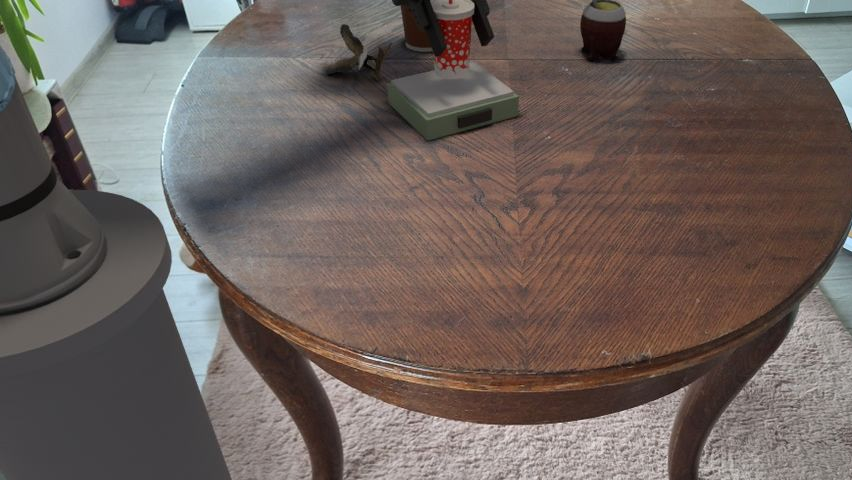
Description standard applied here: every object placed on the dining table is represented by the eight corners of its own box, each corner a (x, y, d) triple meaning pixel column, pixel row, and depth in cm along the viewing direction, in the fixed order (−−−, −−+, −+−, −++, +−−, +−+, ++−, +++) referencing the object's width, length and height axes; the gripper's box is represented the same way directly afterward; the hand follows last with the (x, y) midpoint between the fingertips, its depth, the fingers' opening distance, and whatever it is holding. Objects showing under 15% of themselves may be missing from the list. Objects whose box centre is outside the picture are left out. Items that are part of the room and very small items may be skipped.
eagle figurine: (397, 58, 112) (345, 37, 114) (388, 30, 105) (333, 9, 107) (374, 99, 111) (322, 78, 112) (364, 74, 104) (308, 52, 105)
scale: (429, 142, 96) (428, 117, 93) (388, 103, 104) (386, 79, 101) (520, 117, 101) (521, 93, 99) (474, 82, 109) (474, 59, 107)
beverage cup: (483, 74, 99) (484, -34, 90) (444, 85, 96) (441, -25, 87) (458, 58, 102) (457, -48, 93) (420, 68, 100) (415, -40, 90)
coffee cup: (402, 31, 123) (397, -44, 116) (456, 34, 123) (455, -41, 115) (392, 53, 116) (386, -25, 109) (449, 56, 116) (447, -22, 108)
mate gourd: (628, 53, 119) (642, -45, 109) (606, 70, 114) (619, -31, 104) (587, 41, 122) (597, -54, 112) (564, 57, 117) (573, -41, 107)
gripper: (457, -114, 101) (516, 45, 101) (324, -98, 93) (388, 74, 93) (476, -151, 94) (540, 19, 94) (335, -137, 86) (404, 49, 86)
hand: (464, 46), depth 94 cm, fingers closed on beverage cup, 6 cm apart
